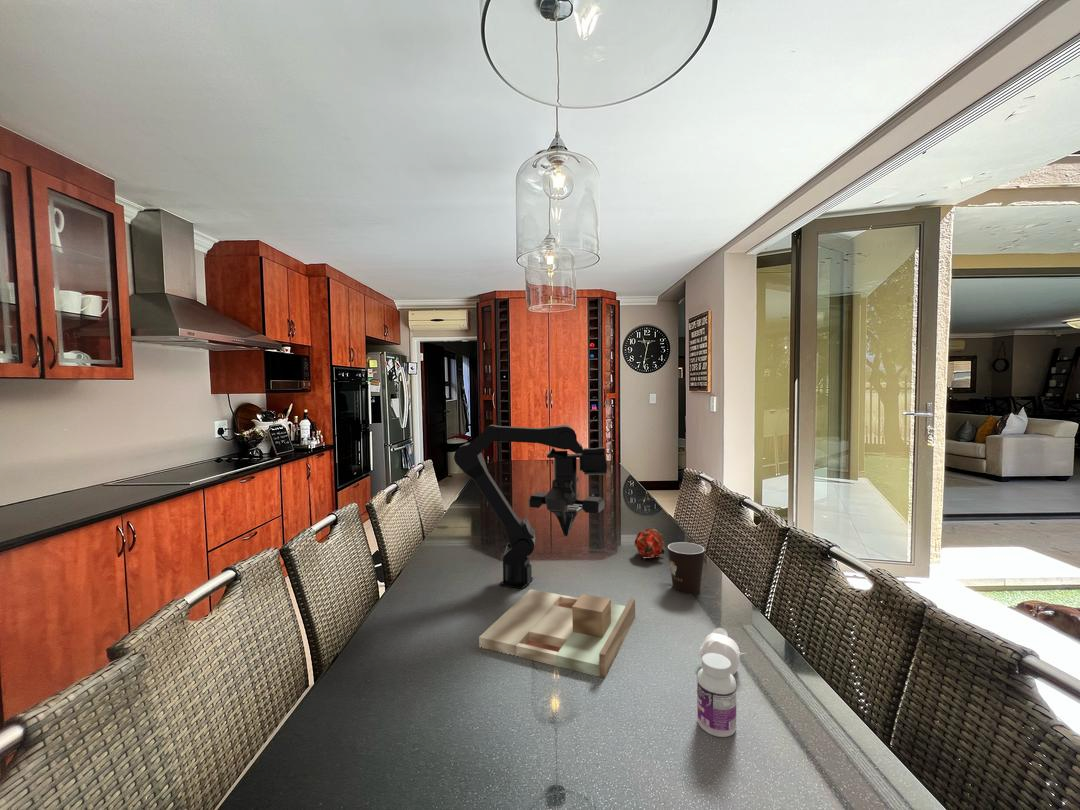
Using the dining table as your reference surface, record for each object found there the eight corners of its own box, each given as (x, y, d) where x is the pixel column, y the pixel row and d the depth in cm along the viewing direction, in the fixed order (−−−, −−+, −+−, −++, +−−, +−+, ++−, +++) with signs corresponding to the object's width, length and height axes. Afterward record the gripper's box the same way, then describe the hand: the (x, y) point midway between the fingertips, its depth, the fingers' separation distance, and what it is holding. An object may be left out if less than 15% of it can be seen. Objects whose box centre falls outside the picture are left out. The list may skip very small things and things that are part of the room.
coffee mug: (707, 597, 109) (707, 555, 108) (669, 594, 110) (668, 553, 110) (700, 577, 120) (700, 539, 120) (666, 575, 122) (665, 537, 122)
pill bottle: (691, 713, 70) (690, 650, 70) (725, 711, 70) (724, 648, 70) (707, 740, 64) (706, 672, 64) (743, 737, 65) (743, 670, 65)
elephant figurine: (700, 653, 86) (699, 621, 86) (747, 663, 82) (747, 630, 82) (695, 673, 80) (695, 639, 80) (746, 685, 76) (746, 650, 76)
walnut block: (572, 631, 90) (572, 606, 90) (582, 617, 96) (582, 593, 96) (602, 638, 88) (602, 612, 88) (611, 623, 93) (610, 598, 93)
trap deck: (479, 647, 89) (478, 626, 89) (530, 597, 110) (530, 580, 110) (605, 678, 79) (604, 654, 79) (635, 616, 100) (635, 598, 100)
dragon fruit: (654, 554, 142) (651, 574, 131) (630, 537, 143) (626, 556, 132) (670, 534, 139) (669, 553, 128) (646, 517, 141) (643, 534, 129)
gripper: (518, 478, 114) (519, 541, 115) (590, 483, 107) (591, 550, 107) (537, 470, 124) (538, 528, 125) (604, 475, 117) (605, 536, 117)
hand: (566, 535), depth 118 cm, fingers closed
